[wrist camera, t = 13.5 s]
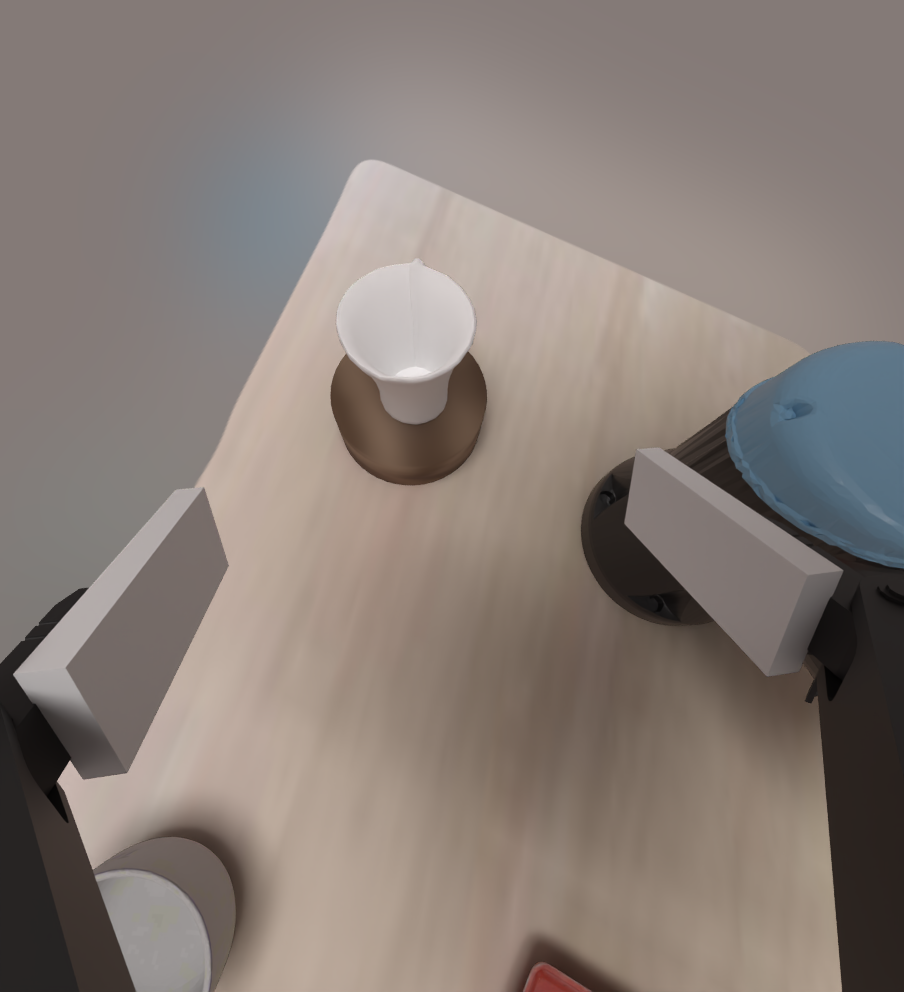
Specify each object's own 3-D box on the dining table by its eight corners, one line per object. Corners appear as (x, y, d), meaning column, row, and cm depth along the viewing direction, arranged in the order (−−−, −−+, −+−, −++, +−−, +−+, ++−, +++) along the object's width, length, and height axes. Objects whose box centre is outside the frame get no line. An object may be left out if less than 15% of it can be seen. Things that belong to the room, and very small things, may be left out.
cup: (472, 357, 40) (488, 269, 30) (452, 454, 37) (463, 392, 28) (371, 336, 40) (356, 241, 30) (343, 432, 37) (317, 362, 27)
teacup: (160, 788, 33) (83, 834, 26) (287, 866, 33) (246, 938, 25) (20, 1009, 30) (-120, 1140, 22) (160, 1105, 29) (66, 1276, 21)
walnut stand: (453, 345, 46) (457, 311, 41) (499, 461, 43) (509, 439, 38) (324, 378, 44) (313, 347, 39) (362, 503, 41) (355, 485, 36)
